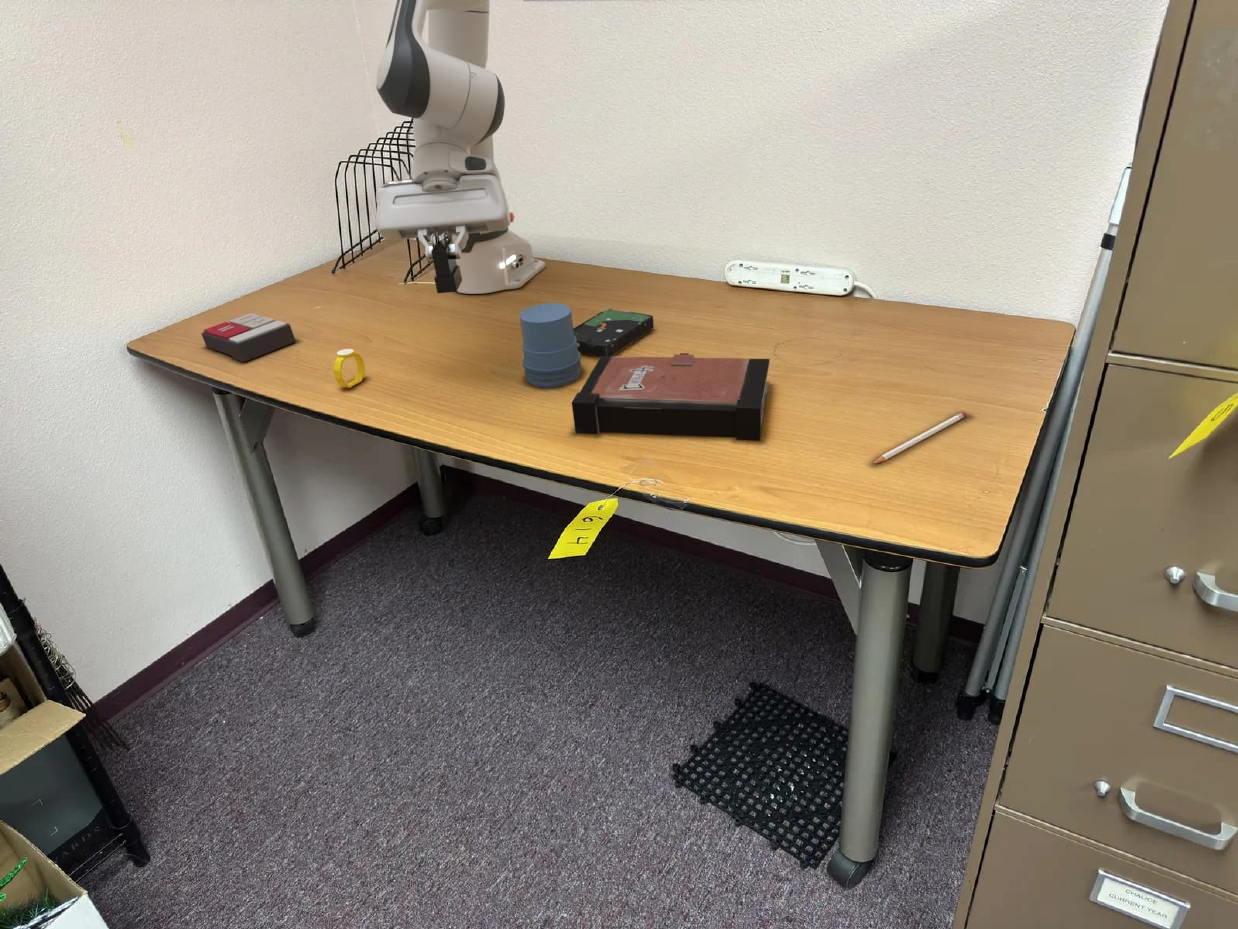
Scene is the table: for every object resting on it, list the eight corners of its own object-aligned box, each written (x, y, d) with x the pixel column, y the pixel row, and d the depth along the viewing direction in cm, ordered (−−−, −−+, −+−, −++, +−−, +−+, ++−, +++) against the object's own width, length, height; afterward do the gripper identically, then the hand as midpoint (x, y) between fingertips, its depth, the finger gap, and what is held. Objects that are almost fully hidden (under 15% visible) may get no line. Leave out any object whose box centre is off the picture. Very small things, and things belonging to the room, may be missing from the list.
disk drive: (608, 361, 138) (655, 328, 148) (607, 346, 137) (654, 314, 147) (560, 351, 144) (608, 320, 154) (558, 336, 142) (606, 306, 152)
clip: (443, 282, 128) (432, 228, 124) (462, 280, 128) (452, 226, 124) (437, 293, 124) (425, 238, 119) (456, 291, 124) (445, 236, 119)
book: (769, 383, 126) (770, 353, 123) (760, 440, 111) (760, 408, 109) (604, 380, 132) (601, 351, 129) (575, 433, 117) (571, 402, 115)
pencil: (966, 417, 112) (967, 413, 112) (875, 467, 104) (876, 462, 103) (961, 415, 113) (962, 411, 112) (870, 464, 104) (871, 459, 104)
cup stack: (546, 359, 141) (537, 298, 135) (593, 368, 136) (586, 305, 130) (513, 383, 134) (502, 319, 128) (562, 392, 129) (553, 327, 123)
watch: (348, 393, 136) (339, 360, 133) (335, 391, 137) (325, 358, 134) (371, 377, 140) (362, 345, 137) (358, 376, 141) (349, 344, 138)
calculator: (251, 310, 165) (289, 320, 155) (258, 330, 167) (296, 341, 158) (198, 329, 158) (235, 340, 149) (207, 350, 160) (243, 362, 151)
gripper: (369, 171, 124) (368, 254, 120) (503, 158, 123) (505, 242, 120) (383, 194, 130) (382, 273, 127) (511, 182, 129) (513, 262, 126)
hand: (443, 258), depth 123 cm, fingers closed on clip, 2 cm apart
